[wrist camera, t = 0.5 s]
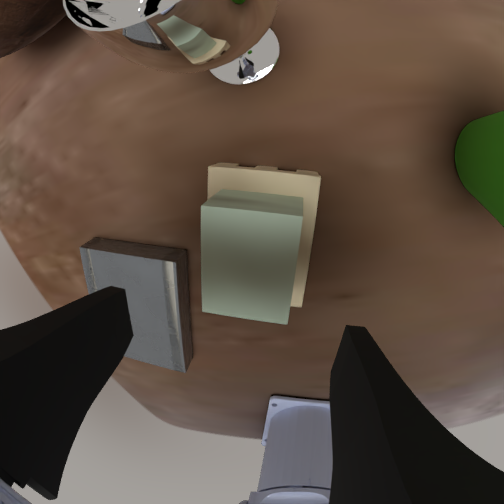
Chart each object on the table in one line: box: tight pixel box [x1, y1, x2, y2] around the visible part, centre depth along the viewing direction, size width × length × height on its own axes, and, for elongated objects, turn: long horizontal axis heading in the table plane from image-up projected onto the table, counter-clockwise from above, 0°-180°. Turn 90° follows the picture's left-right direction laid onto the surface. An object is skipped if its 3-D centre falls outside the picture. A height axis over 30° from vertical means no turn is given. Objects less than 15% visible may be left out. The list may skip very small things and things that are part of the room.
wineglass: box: [63, 0, 280, 85], centre depth 9 cm, size 6×6×12 cm
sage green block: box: [201, 162, 321, 325], centre depth 16 cm, size 8×6×6 cm
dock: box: [80, 237, 193, 373], centre depth 22 cm, size 10×8×2 cm
